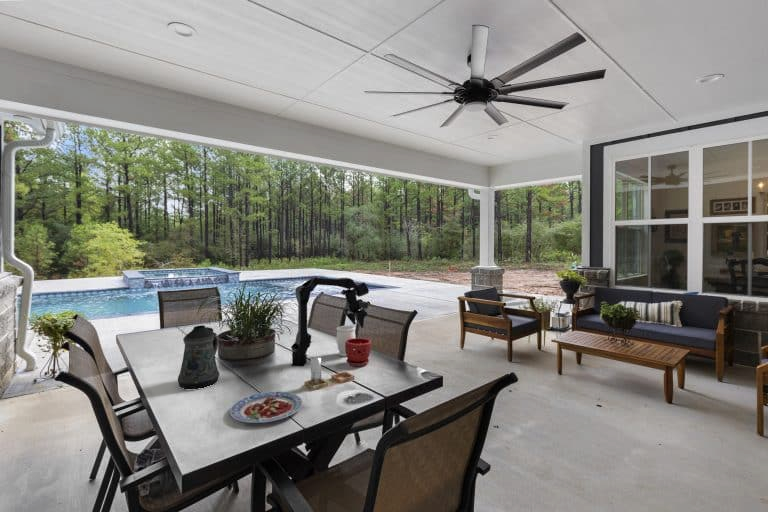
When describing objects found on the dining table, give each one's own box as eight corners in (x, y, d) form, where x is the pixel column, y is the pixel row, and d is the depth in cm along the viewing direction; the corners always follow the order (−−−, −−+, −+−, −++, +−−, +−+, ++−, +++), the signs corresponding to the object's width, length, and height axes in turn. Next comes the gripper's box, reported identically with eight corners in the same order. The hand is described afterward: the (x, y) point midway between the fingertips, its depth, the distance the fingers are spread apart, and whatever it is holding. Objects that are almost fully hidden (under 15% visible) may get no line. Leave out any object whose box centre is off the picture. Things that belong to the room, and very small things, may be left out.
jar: (354, 357, 203) (354, 329, 203) (335, 357, 204) (335, 329, 203) (356, 351, 214) (356, 325, 213) (338, 351, 214) (338, 325, 213)
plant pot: (367, 368, 185) (367, 344, 185) (342, 367, 188) (341, 343, 187) (373, 360, 198) (373, 337, 198) (349, 358, 201) (349, 336, 200)
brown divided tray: (310, 392, 156) (310, 387, 156) (302, 386, 163) (302, 381, 163) (356, 381, 169) (356, 376, 169) (346, 375, 176) (346, 371, 176)
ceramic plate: (276, 391, 159) (276, 384, 158) (316, 408, 142) (316, 401, 142) (216, 413, 139) (216, 405, 138) (255, 436, 122) (255, 427, 122)
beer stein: (173, 392, 157) (171, 332, 156) (184, 376, 176) (183, 322, 175) (216, 388, 161) (215, 330, 160) (222, 372, 180) (221, 320, 179)
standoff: (309, 387, 160) (309, 359, 160) (312, 383, 165) (312, 356, 164) (320, 387, 160) (319, 360, 159) (322, 384, 164) (322, 356, 164)
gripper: (372, 297, 202) (379, 323, 205) (356, 292, 218) (363, 317, 221) (354, 304, 197) (361, 331, 200) (339, 299, 213) (346, 324, 216)
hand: (358, 326), depth 209 cm, fingers open, 9 cm apart
